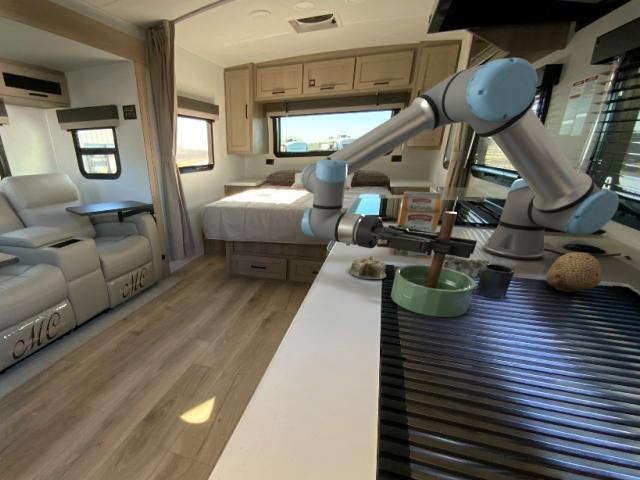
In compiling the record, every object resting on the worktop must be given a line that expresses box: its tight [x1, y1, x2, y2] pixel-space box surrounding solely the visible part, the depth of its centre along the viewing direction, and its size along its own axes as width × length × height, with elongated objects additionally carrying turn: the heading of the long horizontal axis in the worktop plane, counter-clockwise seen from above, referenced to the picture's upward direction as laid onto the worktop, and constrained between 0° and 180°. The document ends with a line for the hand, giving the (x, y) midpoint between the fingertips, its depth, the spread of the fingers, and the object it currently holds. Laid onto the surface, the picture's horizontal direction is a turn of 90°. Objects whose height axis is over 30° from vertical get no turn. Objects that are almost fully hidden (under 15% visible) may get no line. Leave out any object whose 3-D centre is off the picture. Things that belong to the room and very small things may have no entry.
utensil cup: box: [474, 263, 515, 300], centre depth 78 cm, size 6×6×7 cm
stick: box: [425, 210, 458, 289], centre depth 71 cm, size 2×2×20 cm
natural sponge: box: [545, 251, 603, 293], centre depth 78 cm, size 9×9×10 cm
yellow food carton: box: [392, 191, 443, 259], centre depth 106 cm, size 11×11×19 cm
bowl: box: [390, 264, 477, 318], centre depth 75 cm, size 16×16×6 cm
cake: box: [348, 255, 387, 280], centre depth 92 cm, size 10×10×5 cm
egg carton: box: [442, 255, 490, 278], centre depth 93 cm, size 11×8×4 cm
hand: (472, 249), depth 67 cm, fingers open, 3 cm apart
